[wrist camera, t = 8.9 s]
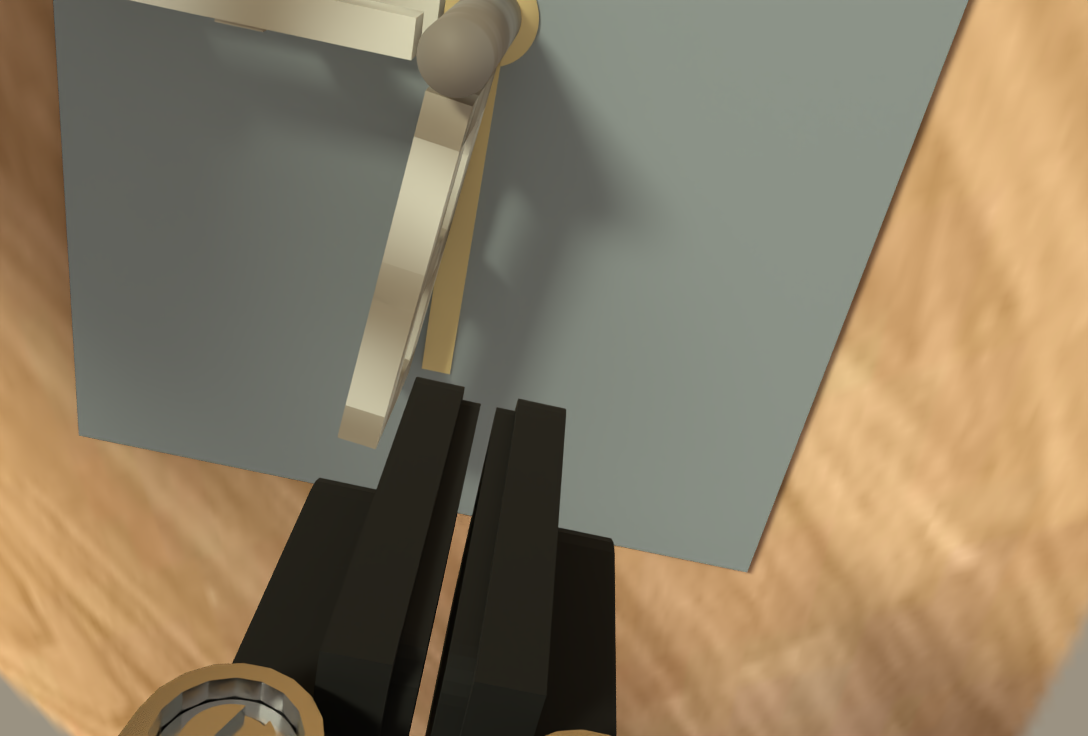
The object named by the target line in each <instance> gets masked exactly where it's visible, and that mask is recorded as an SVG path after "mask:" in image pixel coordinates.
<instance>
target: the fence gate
mask: <svg viewBox="0 0 1088 736" xmlns="http://www.w3.org/2000/svg"><path fill="white" fill-rule="evenodd" d="M495 72H496V69H495V70H494V72H493V74H492V75H491V77H490V78H489V80H488V81H487V83H486V84H485V85H484V87H483V88H482V89H480V90H479V91H478V92H476V93H475V94H473V95H470V96H468V97H463V98H451V97H447V96H444V95H441V94H439V93H438V92H436V91H435V90H433V89H432V88H431V87H430V86H429V87H428V88H427V90H426V91H425V95H424V99H423V103H422V107H421V111H420V114H419V118H418V122H417V126H416V130H415V134H414V138H413V142H412V146H411V150H410V154H409V158H408V162H407V165H406V169H405V173H404V177H403V181H402V185H401V189H400V193H399V197H398V201H397V205H396V209H395V213H394V217H393V220H392V224H391V228H390V232H389V236H388V240H387V244H386V248H385V252H384V256H383V260H382V264H381V268H380V272H379V275H378V279H377V283H376V287H375V291H374V295H373V299H372V303H371V307H370V311H369V315H368V319H367V323H366V327H365V330H364V334H363V338H362V342H361V346H360V350H359V354H358V358H357V362H356V366H355V370H354V374H353V378H352V382H351V385H350V389H349V393H348V397H347V401H346V405H345V409H344V413H343V417H342V421H341V425H340V429H339V433H338V436H337V437H338V438H341V439H344V440H347V441H351V442H354V443H357V444H360V445H364V446H367V447H370V448H373V449H376V448H377V445H378V443H379V441H380V438H381V436H382V434H383V431H384V429H385V427H386V424H387V422H388V420H389V417H390V415H391V413H392V410H393V408H394V406H395V403H396V401H397V399H398V397H399V394H400V392H401V390H402V387H403V385H404V383H405V380H406V378H407V376H408V373H409V370H410V367H411V363H412V360H413V356H414V353H415V349H416V346H417V342H418V339H419V335H420V332H421V328H422V325H423V322H424V318H425V315H426V311H427V308H428V304H429V301H430V297H431V294H432V290H433V287H434V283H435V280H436V276H437V273H438V269H439V266H440V263H441V259H442V256H443V252H444V249H445V245H446V242H447V238H448V235H449V231H450V228H451V224H452V221H453V217H454V214H455V210H456V207H457V204H458V200H459V197H460V193H461V190H462V186H463V183H464V179H465V176H466V172H467V169H468V165H469V162H470V158H471V155H472V151H473V148H474V145H475V141H476V138H477V134H478V131H479V127H480V124H481V120H482V117H483V113H484V110H485V106H486V103H487V99H488V96H489V92H490V89H491V86H492V82H493V79H494V75H495Z"/></svg>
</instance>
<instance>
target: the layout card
mask: <svg viewBox="0 0 1088 736" xmlns="http://www.w3.org/2000/svg"><path fill="white" fill-rule="evenodd" d="M458 1H460V0H446V2H445V10H444V13H445V12H447V11H448V10H449V9H450V8H451V7H453V6H454V5H455V4H456V3H457V2H458ZM517 2H518V4H519V6H520V10H521V18H522V20H521V26H520V30H519V32H518V34H517V36H516V37H515V39H514V41H513V42H512V44H511V45H510V47H509V48H508V50H507V52H506V53H505V55H504V56H503V58H502V59H501V61H500V63H499V64H498V66H497V67H496V72H495V75H494V79H493V82H492V86H491V89H490V92H489V96H488V99H487V103H486V106H485V110H484V113H483V117H482V120H481V124H480V127H479V131H478V134H477V138H476V141H475V145H474V148H473V151H472V155H471V158H470V162H469V165H468V169H467V172H466V176H465V179H464V183H463V186H462V190H461V193H460V197H459V200H458V204H457V207H456V210H455V214H454V217H453V221H452V224H451V228H450V231H449V235H448V238H447V242H446V245H445V249H444V252H443V256H442V259H441V263H440V266H439V269H438V273H437V276H436V280H435V283H434V287H433V290H432V294H431V297H430V301H429V304H428V308H427V311H426V315H425V318H424V322H423V325H422V328H421V332H420V335H419V339H418V342H417V346H416V349H415V353H414V356H413V360H412V363H411V367H410V370H409V373H408V376H407V378H406V380H405V383H404V385H403V387H402V390H401V392H400V394H399V397H398V399H397V401H396V403H395V406H394V408H393V410H392V413H391V415H390V417H389V420H388V422H387V424H386V427H385V429H384V431H383V434H382V436H381V438H380V441H379V443H378V445H377V448H376V449H373V448H370V447H367V446H364V445H360V444H357V443H354V442H351V441H347V440H344V439H341V438H338V437H337V436H338V433H339V429H340V425H341V421H342V417H343V413H344V409H345V405H346V401H347V397H348V393H349V389H350V385H351V382H352V378H353V374H354V370H355V366H356V362H357V358H358V354H359V350H360V346H361V342H362V338H363V334H364V330H365V327H366V323H367V319H368V315H369V311H370V307H371V303H372V299H373V295H374V291H375V287H376V283H377V279H378V275H379V272H380V268H381V264H382V260H383V256H384V252H385V248H386V244H387V240H388V236H389V232H390V228H391V224H392V220H393V217H394V213H395V209H396V205H397V201H398V197H399V193H400V189H401V185H402V181H403V177H404V173H405V169H406V165H407V162H408V158H409V154H410V150H411V146H412V142H413V138H414V134H415V130H416V126H417V122H418V118H419V114H420V111H421V107H422V103H423V99H424V95H425V91H426V90H427V88H428V87H429V85H428V84H427V83H426V82H425V80H424V79H423V77H422V76H421V73H420V71H419V68H418V65H417V57H416V56H415V57H414V58H413V59H412V60H407V59H402V58H397V57H393V56H388V55H383V54H379V53H374V52H369V51H365V50H360V49H355V48H351V47H346V46H341V45H337V44H332V43H327V42H323V41H318V40H313V39H309V38H304V37H299V36H295V35H290V34H285V33H281V32H276V31H271V30H266V31H264V32H260V31H256V30H251V29H246V28H242V27H237V26H232V25H228V24H223V23H218V22H215V18H210V17H206V16H201V15H196V14H192V13H187V12H182V11H178V10H173V9H168V8H164V7H159V6H154V5H150V4H145V3H140V2H136V1H131V0H53V7H54V24H55V41H56V58H57V75H58V91H59V108H60V125H61V142H62V159H63V176H64V193H65V209H66V226H67V243H68V260H69V277H70V294H71V310H72V327H73V344H74V361H75V378H76V395H77V412H78V428H79V436H84V437H89V438H94V439H99V440H104V441H109V442H114V443H118V444H123V445H128V446H133V447H138V448H143V449H148V450H153V451H157V452H162V453H167V454H172V455H177V456H182V457H187V458H192V459H197V460H201V461H206V462H211V463H216V464H221V465H226V466H231V467H236V468H240V469H245V470H250V471H255V472H260V473H265V474H270V475H275V476H280V477H284V478H289V479H294V480H299V481H304V482H309V483H315V481H316V480H317V479H318V478H324V479H329V480H334V481H339V482H343V483H348V484H353V485H358V486H363V487H367V488H372V489H377V486H378V483H379V480H380V477H381V475H382V472H383V469H384V466H385V463H386V460H387V458H388V455H389V452H390V449H391V446H392V443H393V441H394V438H395V435H396V432H397V429H398V426H399V424H400V421H401V418H402V415H403V412H404V409H405V406H406V404H407V401H408V398H409V395H410V392H411V389H412V387H413V384H414V381H415V379H416V377H422V378H426V379H431V380H435V381H440V382H445V383H449V384H454V385H459V386H463V387H465V390H464V395H463V400H466V401H471V402H476V403H480V404H481V406H480V411H479V416H478V420H477V425H476V430H475V434H474V439H473V443H472V448H471V453H470V457H469V462H468V467H467V471H466V476H465V480H464V485H463V490H462V494H461V499H460V504H459V508H458V513H460V514H465V515H470V516H472V513H473V508H474V504H475V500H476V495H477V491H478V486H479V482H480V477H481V473H482V469H483V464H484V460H485V455H486V451H487V447H488V442H489V438H490V433H491V429H492V424H493V420H494V416H495V411H496V408H497V407H499V408H504V409H508V410H513V411H515V408H516V404H517V400H518V398H519V399H524V400H528V401H533V402H538V403H542V404H547V405H552V406H556V407H561V408H565V409H566V425H565V439H564V453H563V467H562V481H561V496H560V510H559V524H558V527H559V528H564V529H569V530H574V531H579V532H583V533H588V534H593V535H598V536H603V537H607V538H612V540H613V542H614V545H616V546H621V547H626V548H631V549H636V550H641V551H646V552H650V553H655V554H660V555H665V556H670V557H675V558H680V559H685V560H690V561H694V562H699V563H704V564H709V565H714V566H719V567H724V568H729V569H733V570H738V571H743V572H747V571H748V569H749V566H750V564H751V561H752V558H753V556H754V553H755V551H756V548H757V545H758V543H759V540H760V538H761V535H762V533H763V530H764V527H765V525H766V522H767V520H768V517H769V514H770V512H771V509H772V507H773V504H774V502H775V499H776V496H777V494H778V491H779V489H780V486H781V483H782V481H783V478H784V476H785V473H786V471H787V468H788V465H789V463H790V460H791V458H792V455H793V452H794V450H795V447H796V445H797V442H798V439H799V437H800V434H801V432H802V429H803V427H804V424H805V421H806V419H807V416H808V414H809V411H810V408H811V406H812V403H813V401H814V398H815V396H816V393H817V390H818V388H819V385H820V383H821V380H822V377H823V375H824V372H825V370H826V367H827V365H828V362H829V359H830V357H831V354H832V352H833V349H834V346H835V344H836V341H837V339H838V336H839V333H840V331H841V328H842V326H843V323H844V321H845V318H846V315H847V313H848V310H849V308H850V305H851V302H852V300H853V297H854V295H855V292H856V290H857V287H858V284H859V282H860V279H861V277H862V274H863V271H864V269H865V266H866V264H867V261H868V259H869V256H870V253H871V251H872V248H873V246H874V243H875V240H876V238H877V235H878V233H879V230H880V227H881V225H882V222H883V220H884V217H885V215H886V212H887V209H888V207H889V204H890V202H891V199H892V196H893V194H894V191H895V189H896V186H897V184H898V181H899V178H900V176H901V173H902V171H903V168H904V165H905V163H906V160H907V158H908V155H909V153H910V150H911V147H912V145H913V142H914V140H915V137H916V134H917V132H918V129H919V127H920V124H921V121H922V119H923V116H924V114H925V111H926V109H927V106H928V103H929V101H930V98H931V96H932V93H933V90H934V88H935V85H936V83H937V80H938V78H939V75H940V72H941V70H942V67H943V65H944V62H945V59H946V57H947V54H948V52H949V49H950V47H951V44H952V41H953V39H954V36H955V34H956V31H957V28H958V26H959V23H960V21H961V18H962V15H963V13H964V10H965V8H966V5H967V3H968V0H517ZM421 36H422V35H421Z"/></svg>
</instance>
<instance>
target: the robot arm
mask: <svg viewBox="0 0 1088 736" xmlns="http://www.w3.org/2000/svg"><path fill="white" fill-rule="evenodd" d="M464 390H465V387H463V386H459V385H454V384H449V383H445V382H440V381H435V380H431V379H426V378H422V377H416V379H415V381H414V384H413V387H412V389H411V392H410V395H409V398H408V401H407V404H406V406H405V409H404V412H403V415H402V418H401V421H400V424H399V426H398V429H397V432H396V435H395V438H394V441H393V443H392V446H391V449H390V452H389V455H388V458H387V460H386V463H385V466H384V469H383V472H382V475H381V477H380V480H379V483H378V486H377V489H372V488H367V487H363V486H358V485H353V484H348V483H343V482H339V481H334V480H329V479H324V478H318V479H317V480H316V481H315V483H314V485H313V487H312V489H311V491H310V493H309V495H308V497H307V499H306V502H305V504H304V506H303V508H302V510H301V513H300V515H299V517H298V519H297V521H296V524H295V526H294V528H293V530H292V533H291V535H290V537H289V539H288V541H287V544H286V546H285V548H284V550H283V552H282V555H281V557H280V559H279V561H278V564H277V566H276V568H275V570H274V572H273V575H272V577H271V579H270V581H269V583H268V586H267V588H266V590H265V592H264V594H263V597H262V599H261V601H260V603H259V606H258V608H257V610H256V612H255V614H254V617H253V619H252V621H251V623H250V625H249V628H248V630H247V632H246V634H245V637H244V639H243V641H242V643H241V645H240V648H239V650H238V652H237V654H236V656H235V659H234V661H233V663H232V664H215V665H211V666H207V667H204V668H201V669H197V670H194V671H190V672H187V673H184V674H183V675H181V676H179V677H177V678H176V679H174V680H172V681H170V682H169V683H167V684H165V685H163V686H162V687H160V688H159V689H158V690H157V691H156V692H155V693H154V694H153V695H152V696H151V697H150V698H149V699H148V700H147V701H146V702H145V703H144V704H143V705H142V706H141V707H140V708H139V709H138V710H137V712H136V713H135V714H134V716H133V717H132V718H131V720H130V721H129V722H128V724H127V725H126V726H125V728H124V729H123V730H122V732H121V733H120V734H119V736H409V732H410V728H411V723H412V719H413V714H414V710H415V705H416V701H417V696H418V692H419V687H420V682H421V678H422V673H423V669H424V664H425V660H426V655H427V651H428V646H429V642H430V637H431V632H432V628H433V623H434V619H435V614H436V610H437V605H438V601H439V596H440V591H441V587H442V582H443V578H444V573H445V568H446V564H447V559H448V554H449V550H450V545H451V541H452V536H453V531H454V527H455V522H456V517H457V513H458V508H459V504H460V499H461V494H462V490H463V485H464V480H465V476H466V471H467V467H468V462H469V457H470V453H471V448H472V443H473V439H474V434H475V430H476V425H477V420H478V416H479V411H480V406H481V404H480V403H476V402H471V401H466V400H463V395H464ZM565 425H566V409H565V408H561V407H556V406H552V405H547V404H542V403H538V402H533V401H528V400H524V399H519V398H518V400H517V404H516V408H515V411H513V410H508V409H504V408H499V407H497V408H496V411H495V416H494V420H493V424H492V429H491V433H490V438H489V442H488V447H487V451H486V455H485V460H484V464H483V469H482V473H481V477H480V482H479V486H478V491H477V495H476V500H475V504H474V508H473V513H472V517H471V522H470V526H469V530H468V535H467V539H466V544H465V548H464V553H463V557H462V561H461V566H460V570H459V575H458V579H457V584H456V588H455V593H454V597H453V602H452V606H451V611H450V616H449V621H448V626H447V631H446V636H445V641H444V646H443V651H442V656H441V661H440V666H439V671H438V676H437V680H436V685H435V690H434V695H433V700H432V705H431V710H430V715H429V720H428V725H427V730H426V735H425V736H616V646H615V553H614V542H613V540H612V538H607V537H603V536H598V535H593V534H588V533H583V532H579V531H574V530H569V529H564V528H559V527H558V524H559V510H560V496H561V481H562V467H563V453H564V439H565Z"/></svg>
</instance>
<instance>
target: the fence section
mask: <svg viewBox="0 0 1088 736" xmlns="http://www.w3.org/2000/svg"><path fill="white" fill-rule="evenodd" d="M131 1H136V2H140V3H145V4H150V5H154V6H159V7H164V8H168V9H173V10H178V11H182V12H187V13H192V14H196V15H201V16H206V17H210V18H215V22H218V23H223V24H228V25H232V26H237V27H242V28H246V29H251V30H256V31H260V32H264V31H266V30H271V31H276V32H281V33H285V34H290V35H295V36H299V37H304V38H309V39H313V40H318V41H323V42H327V43H332V44H337V45H341V46H346V47H351V48H355V49H360V50H365V51H369V52H374V53H379V54H383V55H388V56H393V57H397V58H402V59H407V60H412V59H413V58H414V57H415V56H416V57H417V65H418V68H419V71H420V73H421V76H422V77H423V79H424V80H425V82H426V83H427V84H428V85H429V86H430V87H431V88H432V89H433V90H435V91H436V92H438V93H439V94H441V95H444V96H447V97H451V98H463V97H468V96H470V95H473V94H475V93H476V92H478V91H479V90H480V89H482V88H483V87H484V85H485V84H486V83H487V81H488V80H489V78H490V77H491V75H492V74H493V72H494V70H495V69H496V67H497V66H498V64H499V63H500V61H501V59H502V58H503V56H504V55H505V53H506V52H507V50H508V48H509V47H510V45H511V44H512V42H513V41H514V39H515V37H516V36H517V34H518V32H519V30H520V26H521V20H522V18H521V10H520V6H519V4H518V2H517V0H460V1H458V2H457V3H456V4H455V5H454V6H453V7H451V8H450V9H449V10H448V11H447V12H445V13H444V10H445V2H446V0H131ZM421 35H422V36H421Z"/></svg>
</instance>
